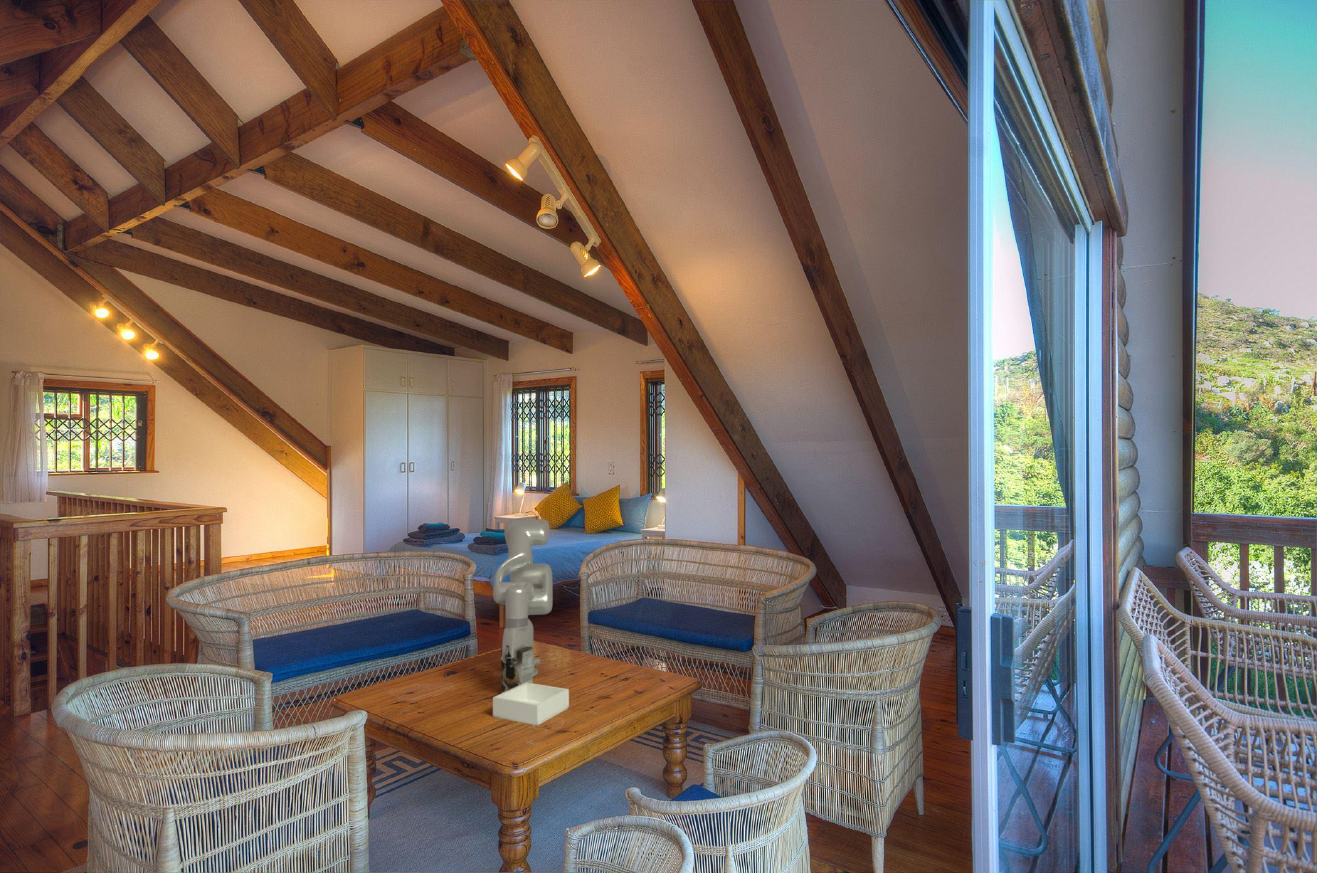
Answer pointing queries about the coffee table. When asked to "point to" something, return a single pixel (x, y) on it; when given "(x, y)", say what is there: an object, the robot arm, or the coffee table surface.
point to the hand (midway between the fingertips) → (516, 674)
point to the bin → (531, 703)
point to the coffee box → (518, 669)
